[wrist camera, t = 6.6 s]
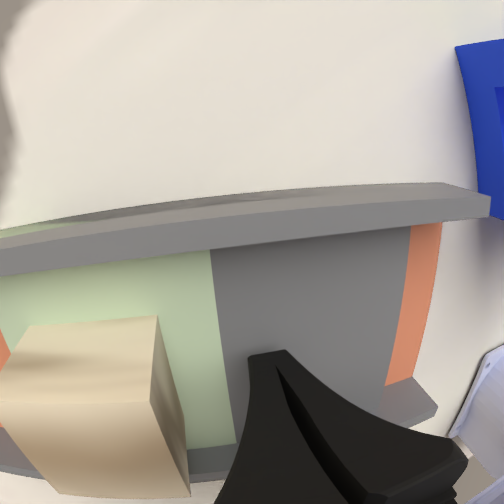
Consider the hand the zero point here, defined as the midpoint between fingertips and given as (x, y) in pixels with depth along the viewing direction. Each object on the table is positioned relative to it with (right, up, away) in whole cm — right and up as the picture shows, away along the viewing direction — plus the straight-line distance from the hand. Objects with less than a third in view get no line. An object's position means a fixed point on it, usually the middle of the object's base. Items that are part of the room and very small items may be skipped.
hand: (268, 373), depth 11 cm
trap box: (-5, 0, +1) cm, 5 cm away
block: (-6, 0, 0) cm, 6 cm away
